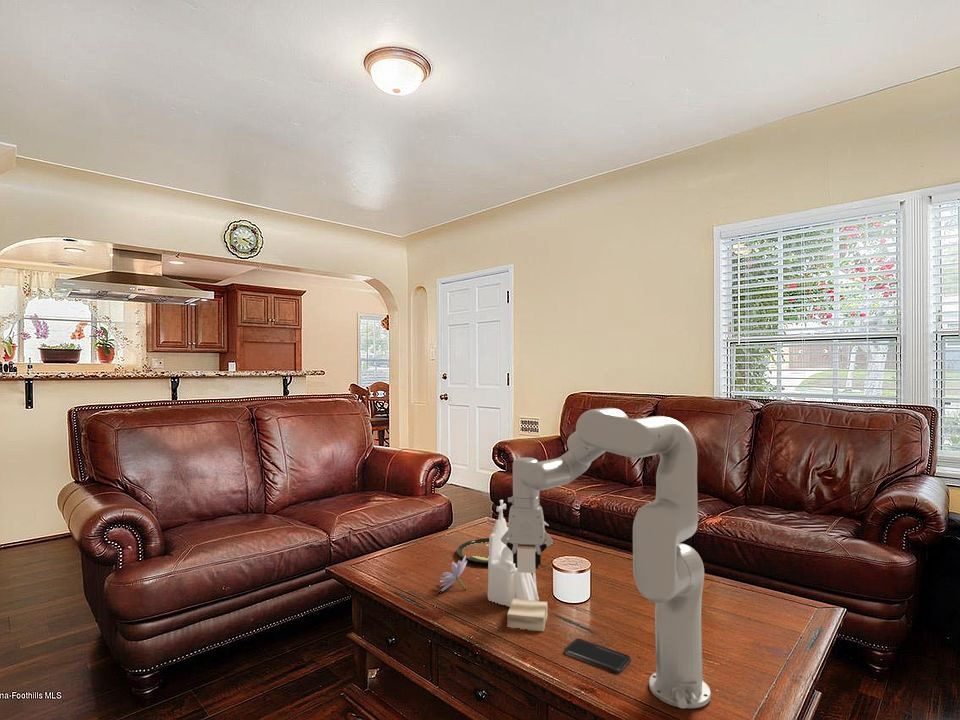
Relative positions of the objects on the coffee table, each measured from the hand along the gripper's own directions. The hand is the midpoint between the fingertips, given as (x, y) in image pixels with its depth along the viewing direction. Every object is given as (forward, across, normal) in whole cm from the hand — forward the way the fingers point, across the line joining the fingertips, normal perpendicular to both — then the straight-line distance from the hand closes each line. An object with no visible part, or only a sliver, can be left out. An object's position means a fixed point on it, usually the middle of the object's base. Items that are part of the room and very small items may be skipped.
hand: (527, 565), depth 148 cm
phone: (+16, +18, -16) cm, 29 cm away
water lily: (+16, -26, +20) cm, 36 cm away
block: (+16, 0, 0) cm, 16 cm away
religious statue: (+16, -4, +15) cm, 22 cm away
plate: (+16, -17, +52) cm, 57 cm away
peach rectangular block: (+1, 0, 0) cm, 1 cm away
